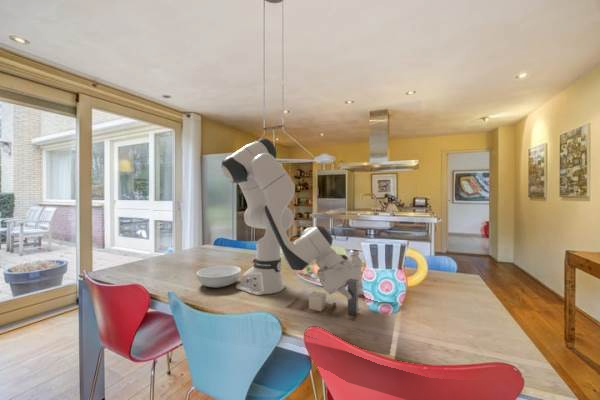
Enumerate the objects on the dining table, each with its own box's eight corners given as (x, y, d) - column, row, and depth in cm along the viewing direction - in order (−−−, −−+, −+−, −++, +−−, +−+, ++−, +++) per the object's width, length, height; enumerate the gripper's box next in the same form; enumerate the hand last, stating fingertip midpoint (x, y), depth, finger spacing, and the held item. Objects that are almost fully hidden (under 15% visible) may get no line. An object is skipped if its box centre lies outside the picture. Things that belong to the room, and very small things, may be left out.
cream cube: (308, 308, 97) (308, 295, 97) (313, 303, 102) (313, 290, 102) (321, 311, 95) (321, 297, 95) (325, 305, 100) (325, 292, 100)
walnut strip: (285, 310, 99) (285, 275, 98) (296, 300, 108) (296, 268, 107) (354, 324, 88) (354, 285, 88) (360, 312, 97) (360, 277, 97)
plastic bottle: (351, 300, 109) (351, 252, 108) (344, 294, 115) (344, 249, 115) (365, 298, 110) (365, 251, 110) (357, 292, 117) (357, 248, 117)
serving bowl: (246, 278, 138) (246, 265, 138) (232, 293, 117) (232, 277, 117) (208, 277, 140) (208, 264, 139) (188, 291, 119) (188, 276, 119)
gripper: (320, 265, 89) (346, 300, 83) (348, 254, 105) (371, 283, 99) (310, 275, 92) (334, 310, 86) (338, 263, 108) (360, 292, 102)
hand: (354, 296), depth 93 cm, fingers open, 4 cm apart
